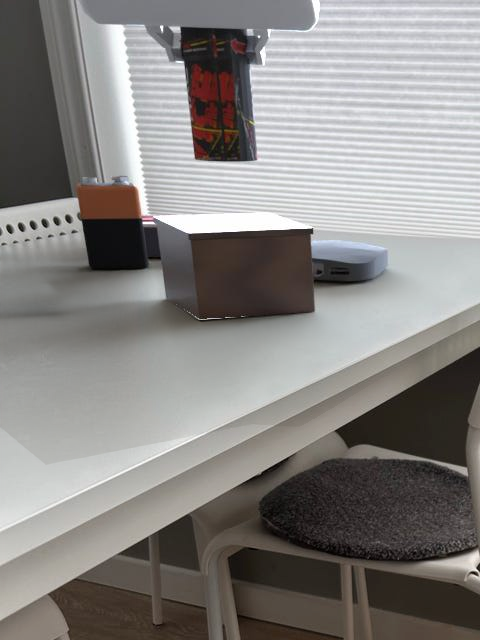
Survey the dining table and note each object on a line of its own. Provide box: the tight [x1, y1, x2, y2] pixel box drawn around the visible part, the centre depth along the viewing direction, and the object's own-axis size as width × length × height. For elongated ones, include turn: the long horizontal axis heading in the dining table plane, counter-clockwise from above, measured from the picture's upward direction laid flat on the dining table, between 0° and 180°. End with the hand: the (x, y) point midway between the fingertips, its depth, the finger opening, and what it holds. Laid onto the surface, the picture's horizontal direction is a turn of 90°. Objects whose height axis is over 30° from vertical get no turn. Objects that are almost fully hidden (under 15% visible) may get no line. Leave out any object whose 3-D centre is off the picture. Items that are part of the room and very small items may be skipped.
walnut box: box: [153, 212, 316, 319], centre depth 97 cm, size 12×12×8 cm
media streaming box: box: [311, 239, 389, 282], centre depth 117 cm, size 15×15×3 cm
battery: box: [75, 175, 149, 271], centre depth 114 cm, size 4×7×10 cm, turn 111°
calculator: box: [142, 213, 203, 258], centre depth 128 cm, size 11×4×15 cm
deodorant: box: [179, 27, 259, 163], centre depth 88 cm, size 6×6×15 cm
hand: (217, 58), depth 88 cm, fingers closed on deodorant, 6 cm apart
